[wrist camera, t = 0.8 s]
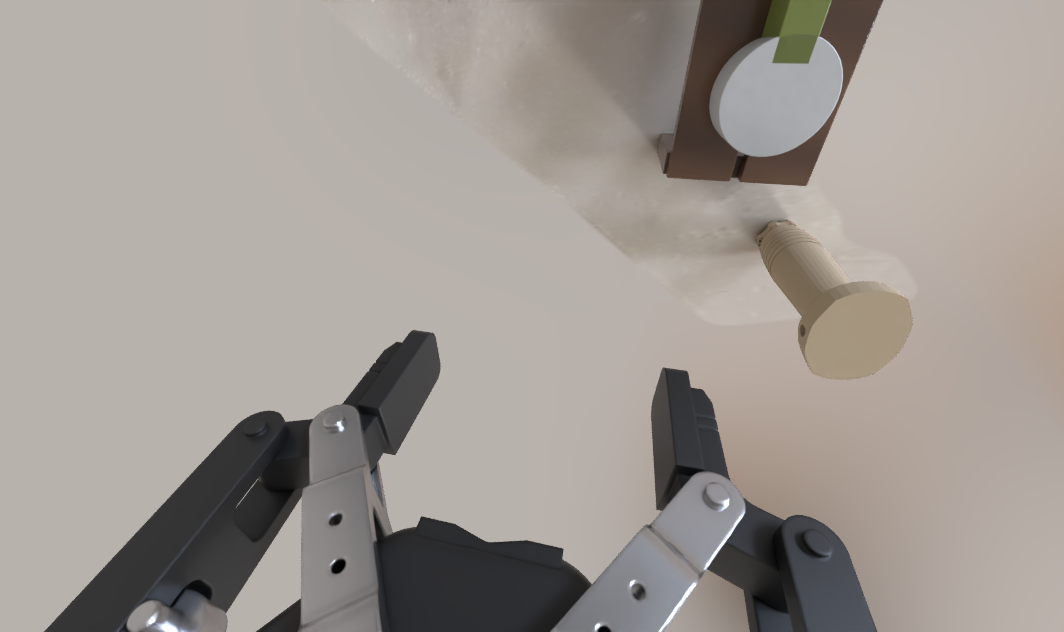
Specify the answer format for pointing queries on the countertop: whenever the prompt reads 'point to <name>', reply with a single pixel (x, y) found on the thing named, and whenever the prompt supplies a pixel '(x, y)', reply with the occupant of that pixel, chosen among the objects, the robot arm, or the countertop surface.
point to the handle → (834, 306)
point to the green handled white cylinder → (778, 82)
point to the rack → (721, 30)
